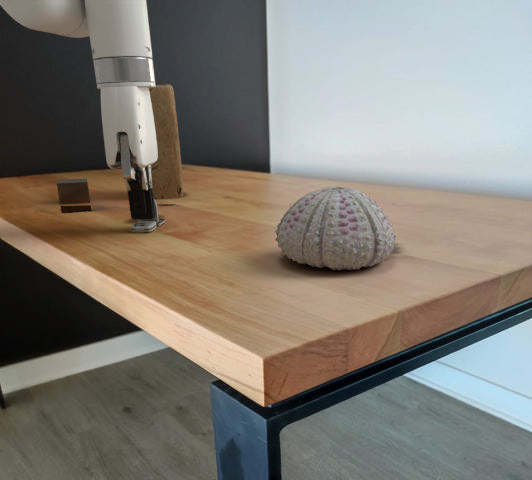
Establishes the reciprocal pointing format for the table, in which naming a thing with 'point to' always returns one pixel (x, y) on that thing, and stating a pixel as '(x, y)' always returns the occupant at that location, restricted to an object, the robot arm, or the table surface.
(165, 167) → the block
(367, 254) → the sea urchin shell
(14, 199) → the table surface
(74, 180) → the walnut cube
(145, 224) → the strap clip
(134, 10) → the robot arm
